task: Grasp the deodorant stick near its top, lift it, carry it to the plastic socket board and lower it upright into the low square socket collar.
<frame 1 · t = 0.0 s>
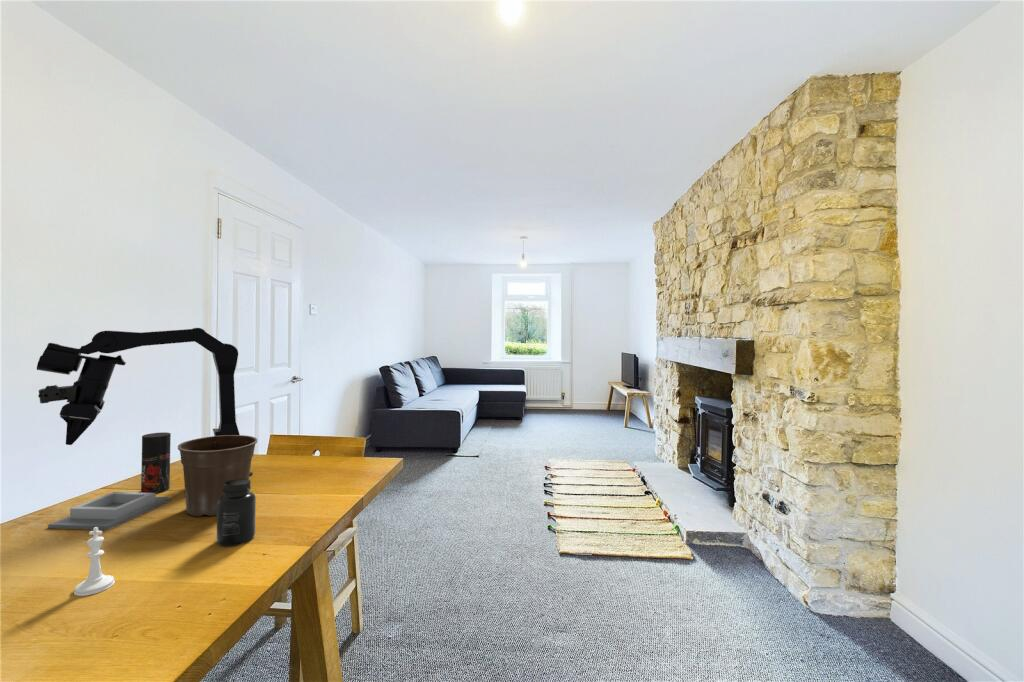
hand: (71, 440, 106), 15 cm above the table, tool pointing down, fingers open, 9 cm apart
chess piece: (94, 588, 72), on the table
plant pot: (217, 508, 106), on the table
socket board: (114, 513, 101), on the table
supplement bottle: (236, 540, 90), on the table
deodorant: (155, 491, 117), on the table
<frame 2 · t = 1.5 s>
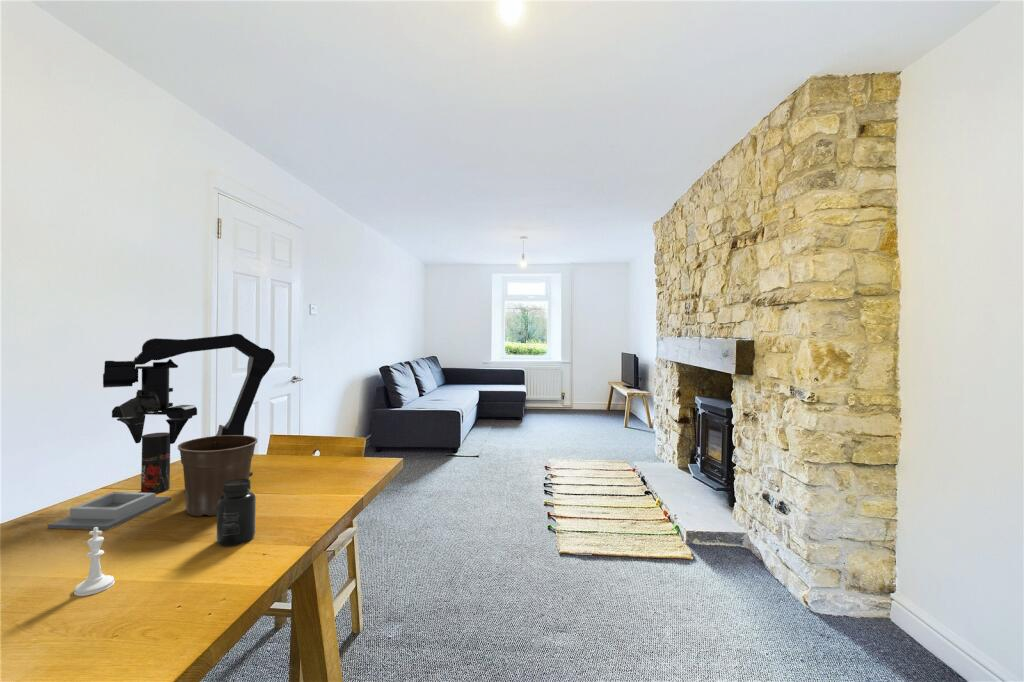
hand: (155, 443, 116), 13 cm above the table, tool pointing down, fingers open, 9 cm apart
nothing on the table moved.
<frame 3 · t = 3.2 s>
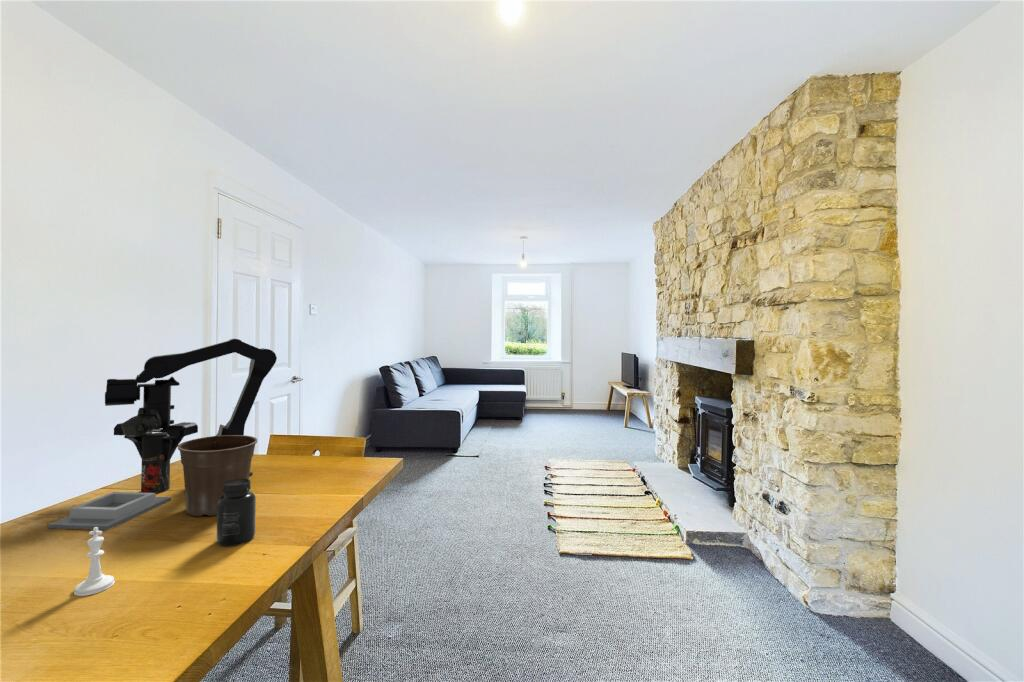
hand: (156, 460, 116), 8 cm above the table, tool pointing down, fingers closed on deodorant, 6 cm apart
deodorant: (155, 491, 117), on the table, touching gripper
everything else where it was.
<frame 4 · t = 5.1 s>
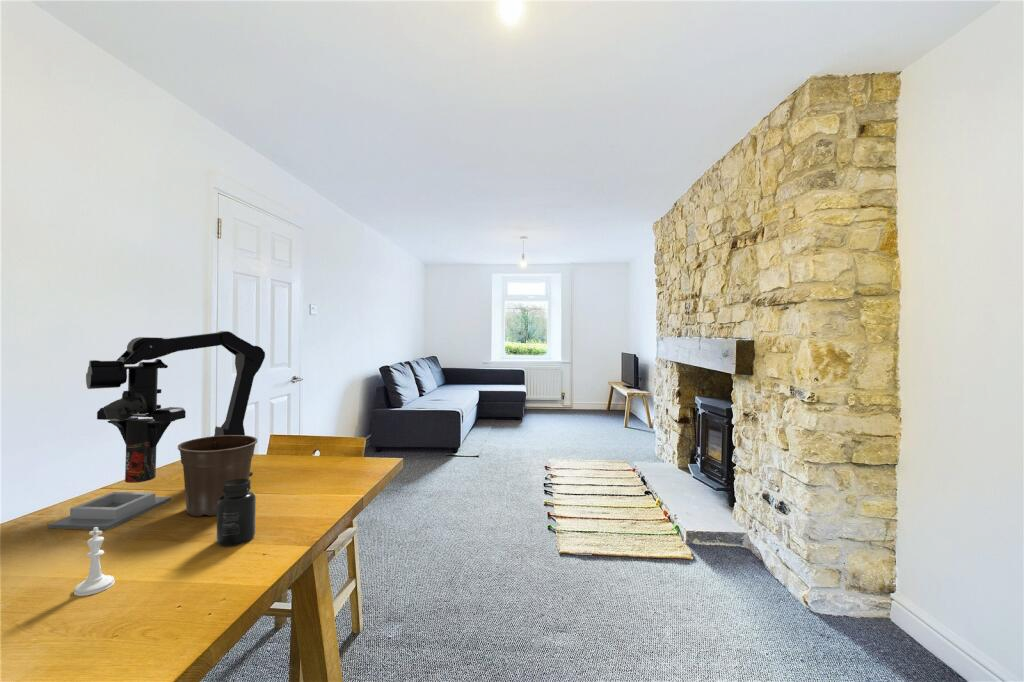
hand: (141, 447, 111), 13 cm above the table, tool pointing down, fingers closed on deodorant, 6 cm apart
deodorant: (140, 479, 111), point 5 cm above the table, touching gripper
everything else where it was.
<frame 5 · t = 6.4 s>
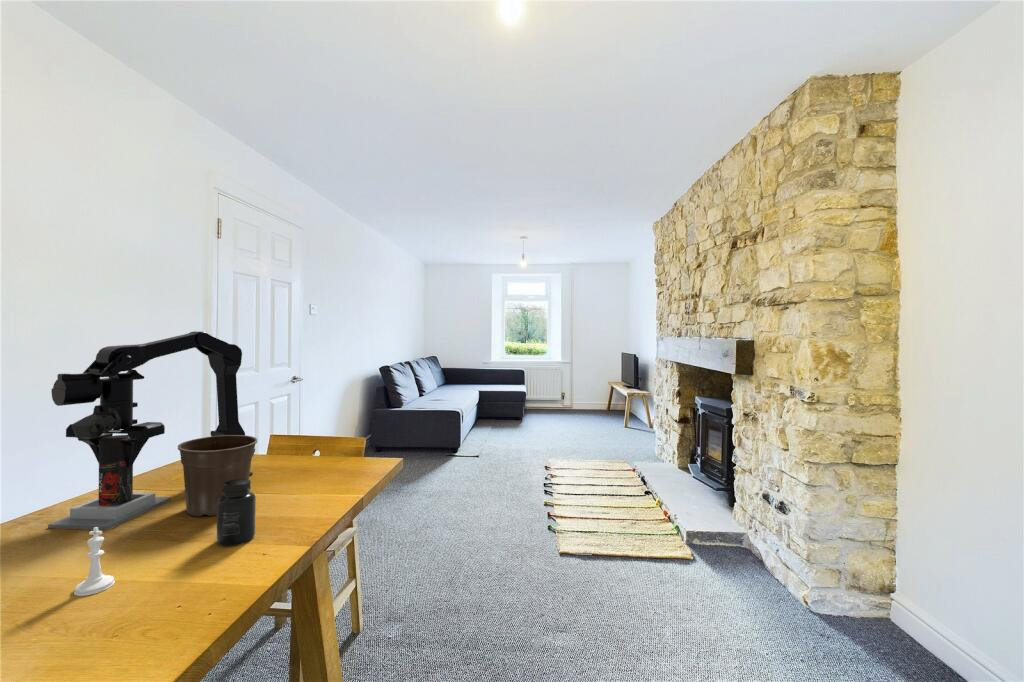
hand: (116, 466, 102), 11 cm above the table, tool pointing down, fingers closed on deodorant, 6 cm apart
deodorant: (115, 502, 102), point 2 cm above the table, touching gripper
everything else where it was.
when the fingers open (10 cm above the table, at t = 7.5 s): deodorant stays where it is, resting on socket board.
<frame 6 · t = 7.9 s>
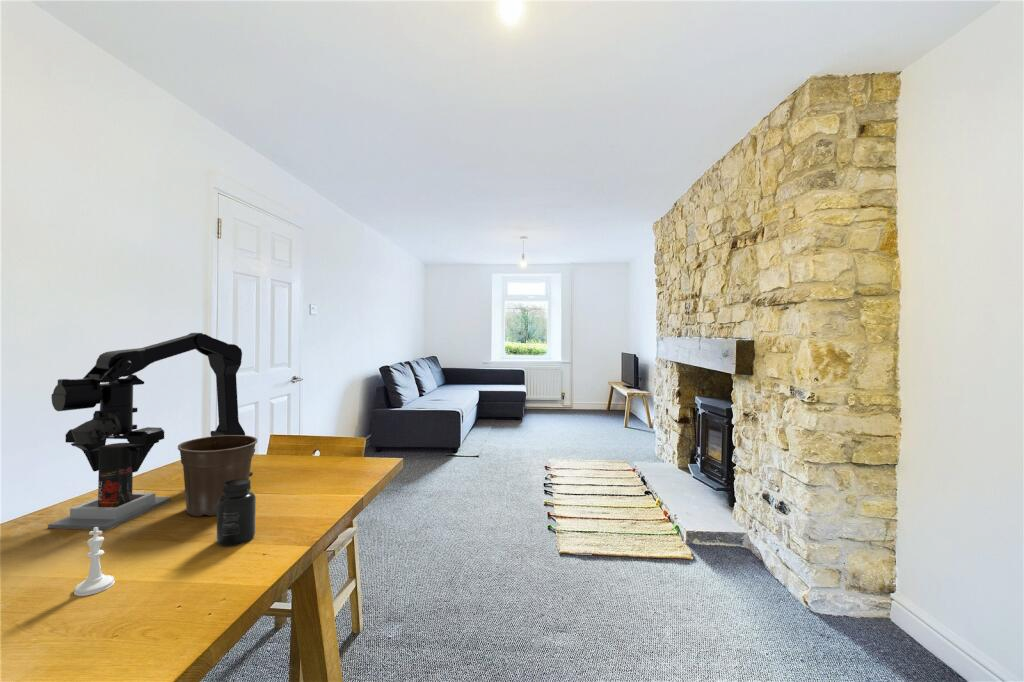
hand: (115, 471, 101), 10 cm above the table, tool pointing down, fingers open, 9 cm apart
deodorant: (115, 510, 102), point 1 cm above the table, touching socket board
everything else where it was.
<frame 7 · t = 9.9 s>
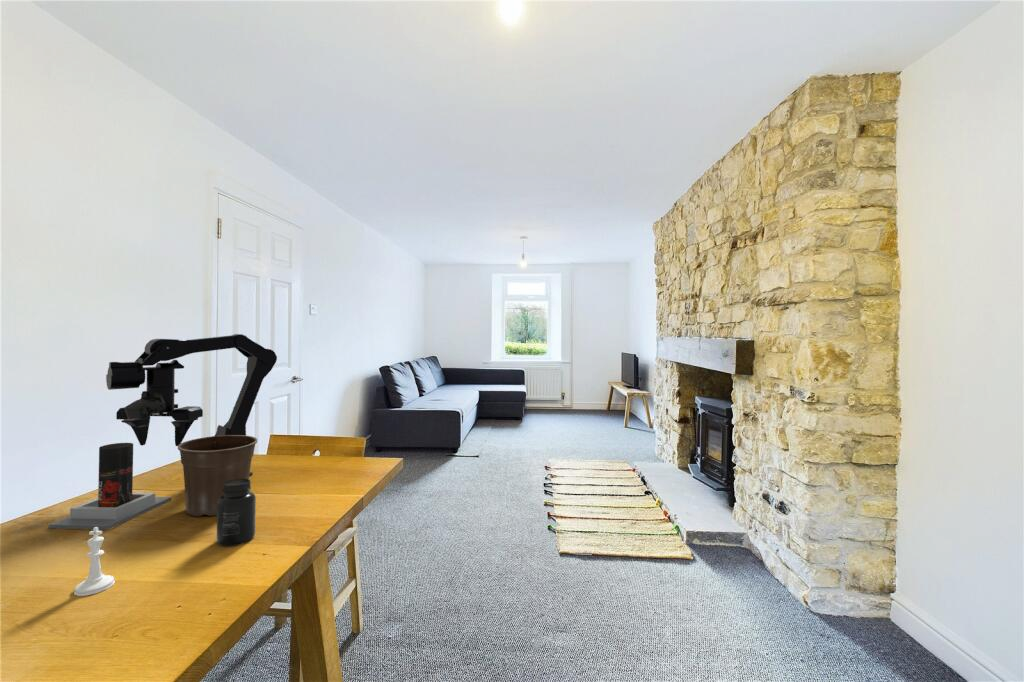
hand: (160, 445, 114), 13 cm above the table, tool pointing down, fingers open, 9 cm apart
nothing on the table moved.
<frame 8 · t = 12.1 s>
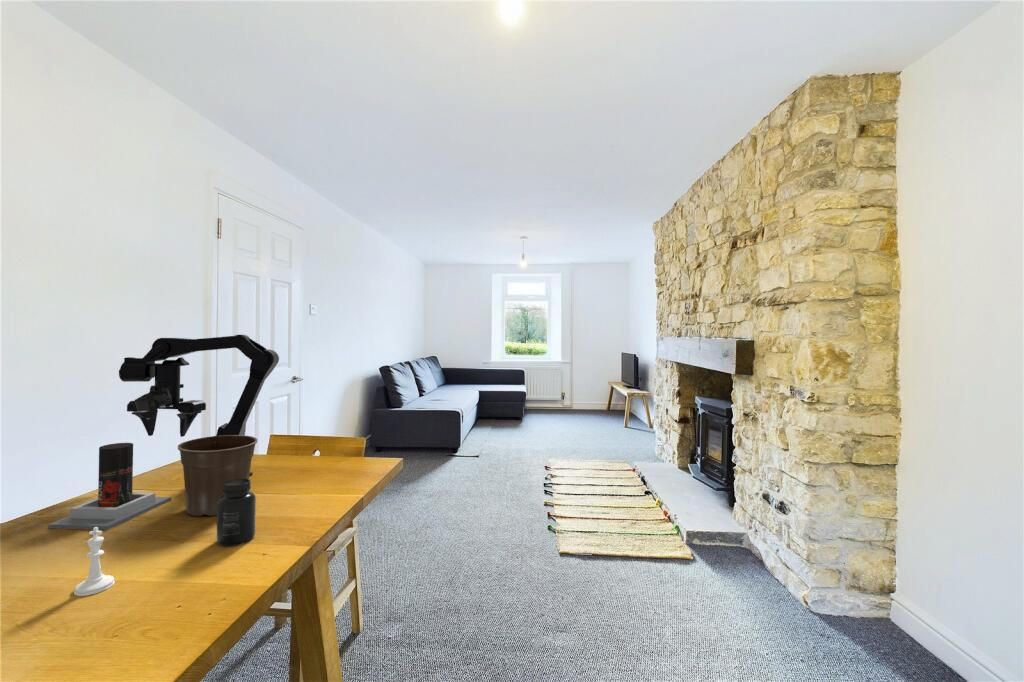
hand: (166, 436, 123), 13 cm above the table, tool pointing down, fingers open, 9 cm apart
nothing on the table moved.
at the end: deodorant 0.1 cm off-centre on the socket board, point 0.6 cm above the socket board's base; deodorant tilted 0°; the gripper is holding nothing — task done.
